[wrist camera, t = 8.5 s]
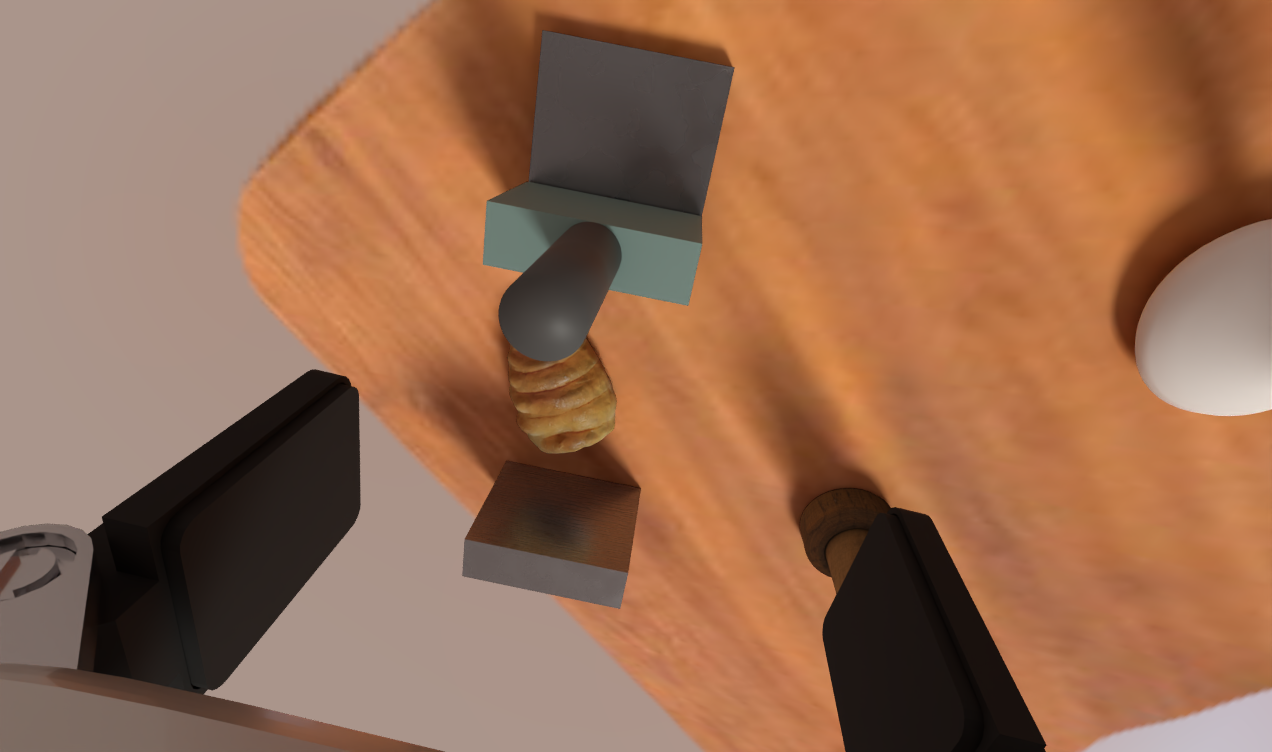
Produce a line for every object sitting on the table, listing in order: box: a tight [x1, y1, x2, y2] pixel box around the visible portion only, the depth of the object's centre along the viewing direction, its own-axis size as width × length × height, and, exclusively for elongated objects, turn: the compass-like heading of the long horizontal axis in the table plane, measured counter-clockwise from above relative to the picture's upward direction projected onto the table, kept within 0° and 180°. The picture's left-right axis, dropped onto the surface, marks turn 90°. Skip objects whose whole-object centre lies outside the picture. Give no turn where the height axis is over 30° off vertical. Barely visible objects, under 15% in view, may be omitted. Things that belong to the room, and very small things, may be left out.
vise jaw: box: [483, 182, 702, 361], centre depth 27 cm, size 3×10×16 cm, turn 80°
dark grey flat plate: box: [529, 30, 734, 216], centre depth 33 cm, size 12×10×1 cm
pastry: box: [507, 338, 617, 454], centre depth 38 cm, size 9×7×4 cm
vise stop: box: [462, 461, 641, 609], centre depth 40 cm, size 3×10×8 cm, turn 80°
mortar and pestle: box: [800, 489, 891, 594], centre depth 34 cm, size 7×6×18 cm
